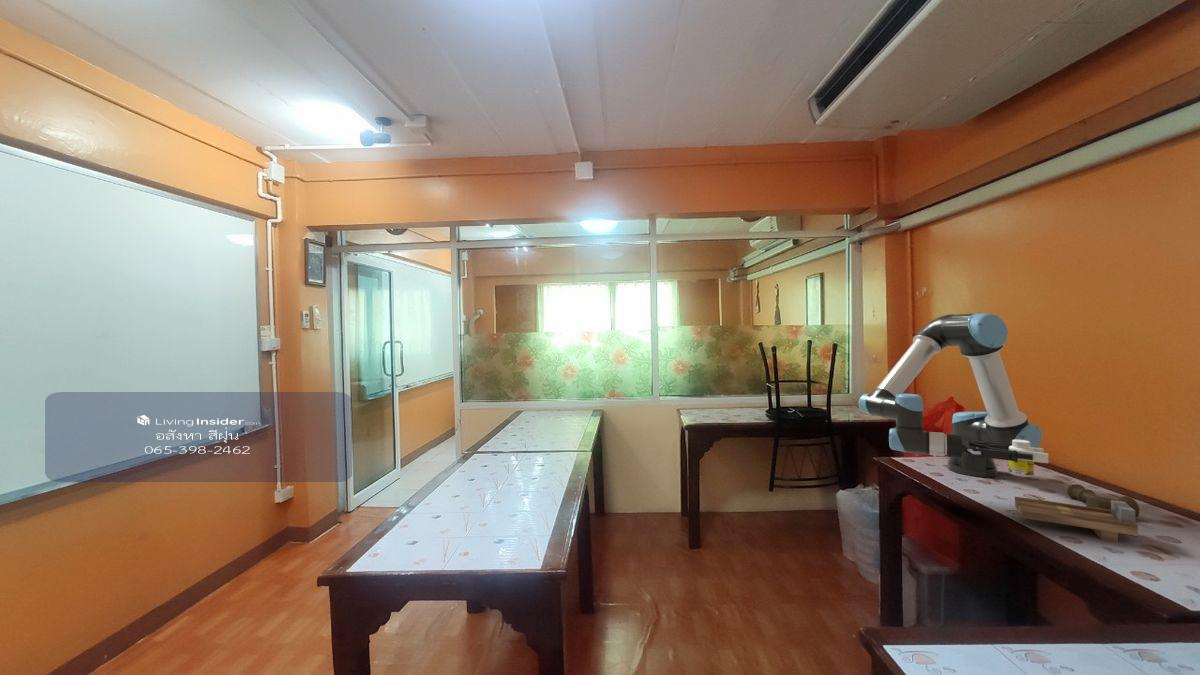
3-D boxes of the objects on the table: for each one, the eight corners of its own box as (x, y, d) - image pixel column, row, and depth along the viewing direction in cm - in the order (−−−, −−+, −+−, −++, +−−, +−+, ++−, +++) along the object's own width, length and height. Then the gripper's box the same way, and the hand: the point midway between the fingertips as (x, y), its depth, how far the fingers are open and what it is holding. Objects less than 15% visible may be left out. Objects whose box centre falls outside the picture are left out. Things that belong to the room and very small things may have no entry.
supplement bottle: (1030, 479, 131) (1030, 444, 131) (1005, 474, 136) (1005, 440, 136) (1036, 475, 134) (1036, 441, 134) (1012, 470, 139) (1012, 437, 138)
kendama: (1093, 501, 145) (1153, 525, 126) (1057, 500, 148) (1111, 524, 128) (1092, 482, 146) (1152, 504, 126) (1056, 481, 148) (1109, 503, 128)
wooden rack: (1014, 513, 136) (1014, 485, 136) (1122, 530, 123) (1122, 500, 123) (1021, 526, 128) (1021, 496, 127) (1138, 545, 115) (1137, 512, 115)
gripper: (944, 450, 153) (1039, 460, 139) (947, 463, 138) (1053, 477, 124) (944, 428, 153) (1039, 436, 139) (947, 439, 138) (1053, 450, 124)
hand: (1045, 455), depth 132 cm, fingers closed on supplement bottle, 6 cm apart
